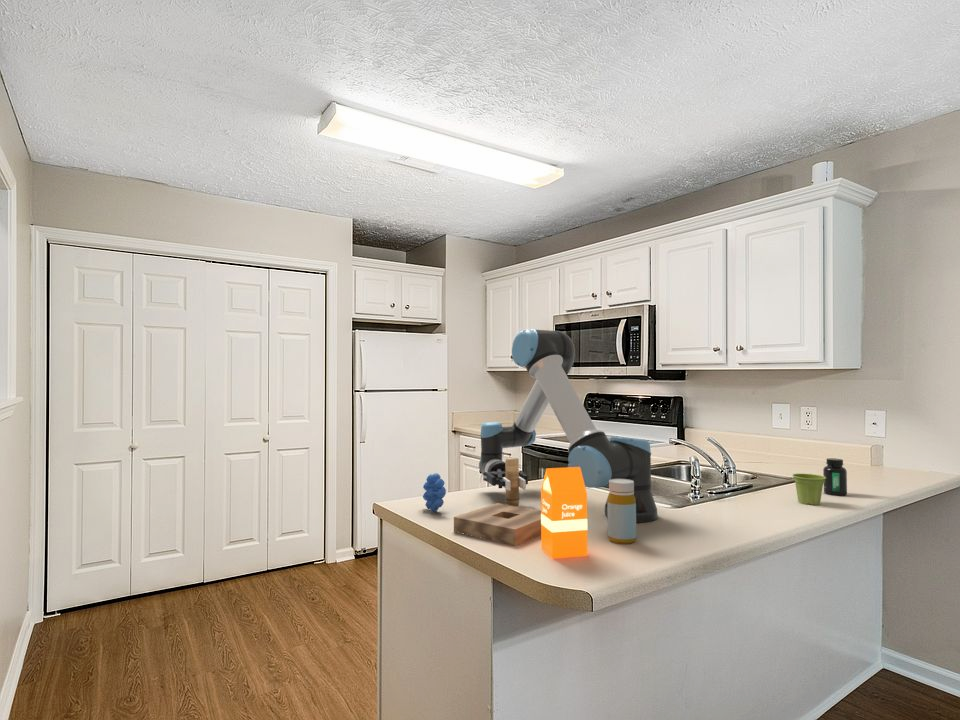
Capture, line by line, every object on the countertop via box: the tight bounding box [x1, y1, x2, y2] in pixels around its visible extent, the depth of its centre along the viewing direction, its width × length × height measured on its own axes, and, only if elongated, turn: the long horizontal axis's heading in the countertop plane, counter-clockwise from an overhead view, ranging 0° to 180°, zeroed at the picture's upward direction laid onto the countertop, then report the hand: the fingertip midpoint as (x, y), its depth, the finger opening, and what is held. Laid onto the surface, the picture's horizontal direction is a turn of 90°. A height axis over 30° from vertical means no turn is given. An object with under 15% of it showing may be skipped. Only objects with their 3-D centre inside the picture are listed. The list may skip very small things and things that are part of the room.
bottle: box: [606, 479, 637, 545], centre depth 144 cm, size 7×7×15 cm
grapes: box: [422, 472, 447, 513], centre depth 175 cm, size 12×7×12 cm, turn 34°
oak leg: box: [504, 457, 520, 507], centre depth 172 cm, size 4×4×16 cm
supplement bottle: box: [822, 458, 848, 497], centre depth 195 cm, size 7×7×12 cm
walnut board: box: [453, 502, 541, 547], centre depth 154 cm, size 20×20×4 cm
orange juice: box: [540, 466, 588, 560], centre depth 135 cm, size 8×9×20 cm
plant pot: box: [791, 473, 826, 506], centre depth 183 cm, size 9×9×9 cm
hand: (516, 485), depth 167 cm, fingers closed on oak leg, 4 cm apart
